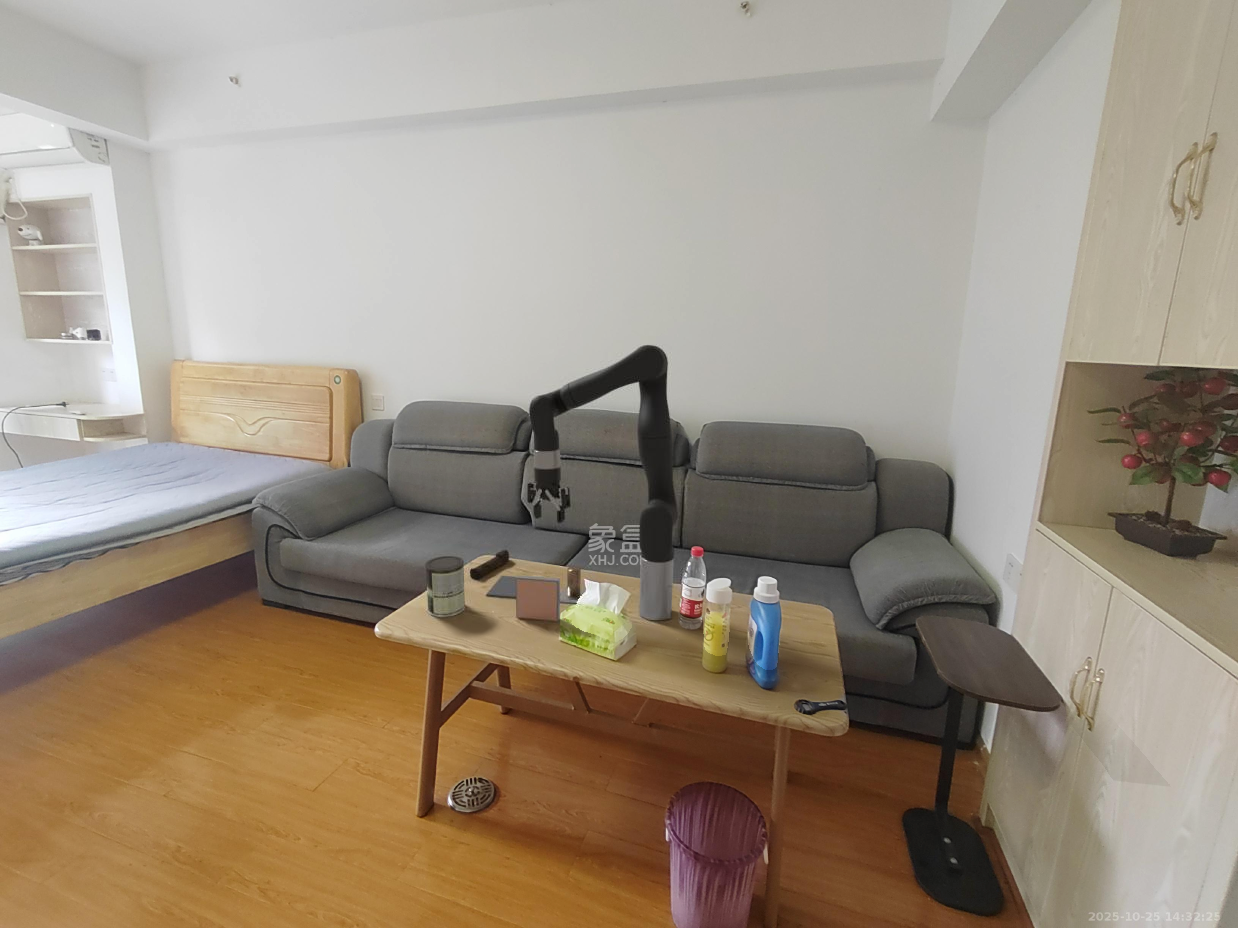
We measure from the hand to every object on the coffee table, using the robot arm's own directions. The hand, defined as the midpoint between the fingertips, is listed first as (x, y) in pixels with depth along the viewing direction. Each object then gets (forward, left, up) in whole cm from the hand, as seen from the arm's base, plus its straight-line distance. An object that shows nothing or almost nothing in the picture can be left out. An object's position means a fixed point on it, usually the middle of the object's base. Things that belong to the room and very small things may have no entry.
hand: (549, 519), depth 161 cm
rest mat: (+12, -6, -25) cm, 28 cm away
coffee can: (+27, +11, -25) cm, 39 cm away
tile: (0, +11, -25) cm, 27 cm away
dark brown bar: (+25, -19, -25) cm, 40 cm away
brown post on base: (-7, -3, -25) cm, 26 cm away
